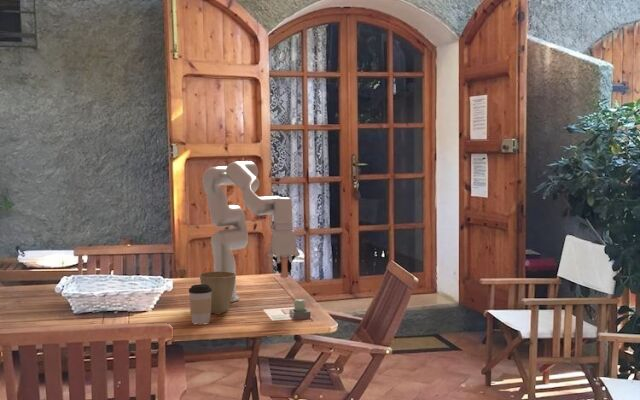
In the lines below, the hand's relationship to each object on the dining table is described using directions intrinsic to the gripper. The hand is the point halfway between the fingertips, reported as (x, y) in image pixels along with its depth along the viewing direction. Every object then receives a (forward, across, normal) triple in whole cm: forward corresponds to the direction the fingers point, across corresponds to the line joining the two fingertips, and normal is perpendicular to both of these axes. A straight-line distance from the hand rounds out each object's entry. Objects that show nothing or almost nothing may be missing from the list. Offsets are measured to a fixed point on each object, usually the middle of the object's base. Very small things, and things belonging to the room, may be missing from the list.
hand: (284, 271), depth 306 cm
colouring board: (+17, 0, -3) cm, 18 cm away
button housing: (+17, +4, -9) cm, 20 cm away
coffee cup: (+18, -35, -5) cm, 39 cm away
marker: (+2, 0, 0) cm, 2 cm away
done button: (+15, +4, -9) cm, 18 cm away
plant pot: (+17, -26, +11) cm, 33 cm away
